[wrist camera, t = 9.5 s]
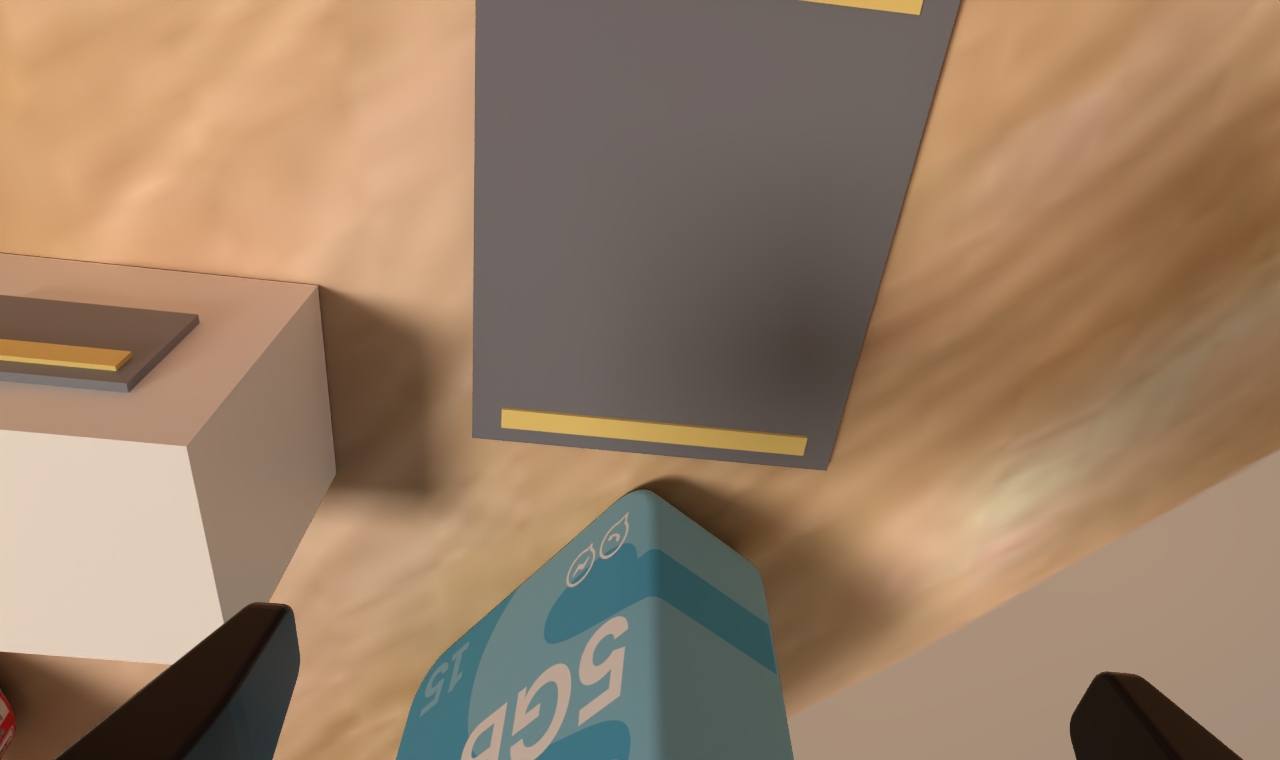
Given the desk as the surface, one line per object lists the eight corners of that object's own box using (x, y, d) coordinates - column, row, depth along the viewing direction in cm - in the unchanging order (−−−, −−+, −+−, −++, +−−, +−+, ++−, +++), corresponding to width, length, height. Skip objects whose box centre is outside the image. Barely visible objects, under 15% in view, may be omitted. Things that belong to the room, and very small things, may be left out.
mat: (823, 461, 24) (827, 472, 23) (474, 429, 23) (471, 439, 23) (965, -41, 17) (973, -40, 17) (480, -103, 16) (476, -103, 16)
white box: (336, 476, 24) (234, 673, 18) (54, 451, 24) (-148, 644, 18) (316, 273, 21) (183, 431, 15) (-13, 239, 20) (-289, 388, 14)
